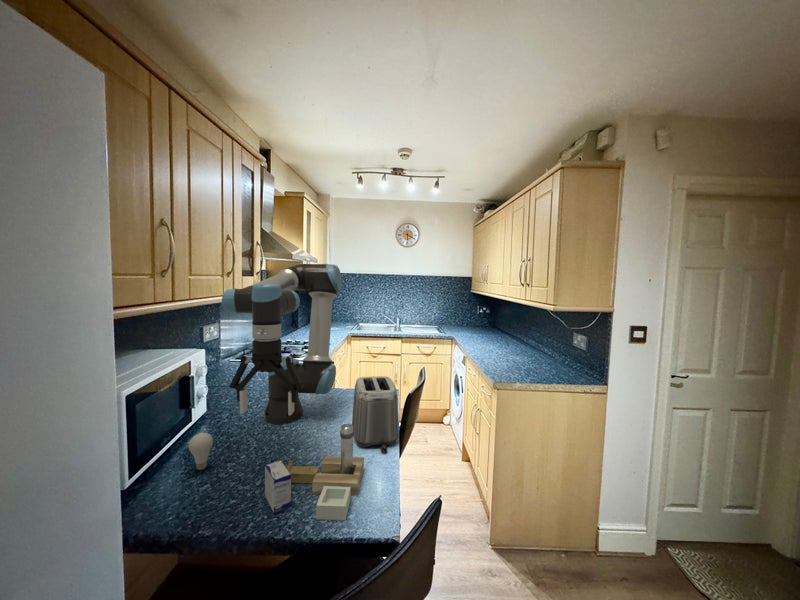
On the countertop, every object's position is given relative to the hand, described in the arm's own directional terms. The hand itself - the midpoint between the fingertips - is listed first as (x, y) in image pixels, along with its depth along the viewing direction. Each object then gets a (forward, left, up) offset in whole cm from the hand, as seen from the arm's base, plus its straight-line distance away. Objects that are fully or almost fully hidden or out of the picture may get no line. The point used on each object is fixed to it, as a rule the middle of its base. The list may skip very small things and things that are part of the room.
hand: (267, 412), depth 89 cm
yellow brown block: (+10, -1, -19) cm, 21 cm away
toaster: (+28, +27, -19) cm, 44 cm away
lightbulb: (-21, +2, -19) cm, 29 cm away
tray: (+22, -12, -19) cm, 31 cm away
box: (+7, -9, -19) cm, 23 cm away
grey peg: (+23, -1, -19) cm, 30 cm away
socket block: (+21, -1, -19) cm, 28 cm away
